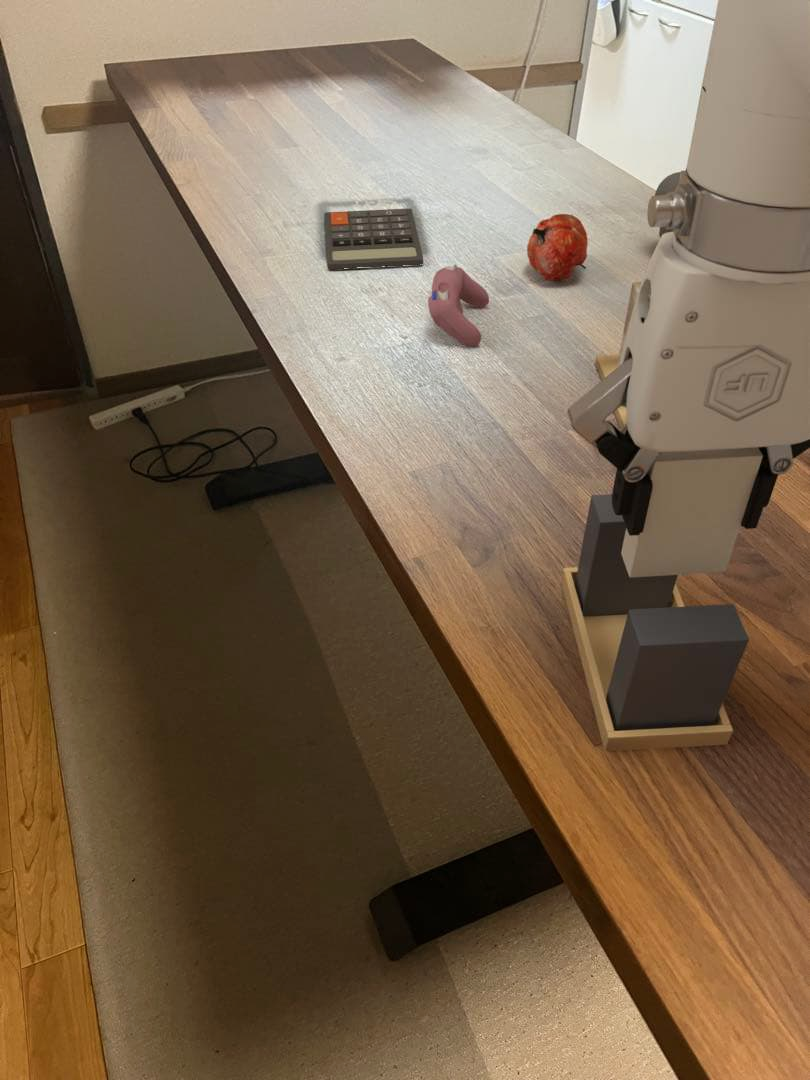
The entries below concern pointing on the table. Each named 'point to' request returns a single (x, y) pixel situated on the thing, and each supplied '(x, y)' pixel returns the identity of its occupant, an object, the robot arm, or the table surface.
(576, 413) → the robot arm
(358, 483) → the table surface
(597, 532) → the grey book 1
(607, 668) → the shallow beige tray
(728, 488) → the beige rectangular block
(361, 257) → the calculator
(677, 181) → the light bulb
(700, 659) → the dark grey block
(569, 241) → the pomegranate
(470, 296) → the video game controller
